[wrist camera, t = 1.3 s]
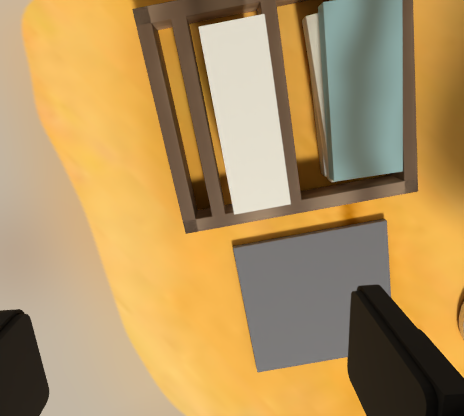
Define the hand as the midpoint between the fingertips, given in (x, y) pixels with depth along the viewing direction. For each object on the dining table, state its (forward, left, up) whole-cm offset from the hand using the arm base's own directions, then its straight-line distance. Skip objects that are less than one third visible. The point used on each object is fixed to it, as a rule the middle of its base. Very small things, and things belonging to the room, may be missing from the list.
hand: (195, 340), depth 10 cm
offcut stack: (-13, -5, -26) cm, 29 cm away
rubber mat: (-8, +16, -26) cm, 31 cm away
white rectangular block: (-3, -5, -26) cm, 26 cm away
